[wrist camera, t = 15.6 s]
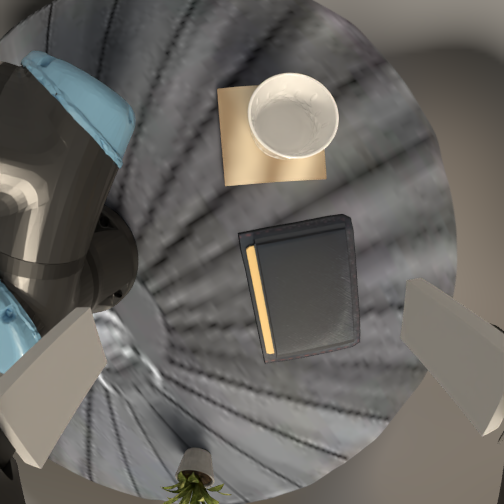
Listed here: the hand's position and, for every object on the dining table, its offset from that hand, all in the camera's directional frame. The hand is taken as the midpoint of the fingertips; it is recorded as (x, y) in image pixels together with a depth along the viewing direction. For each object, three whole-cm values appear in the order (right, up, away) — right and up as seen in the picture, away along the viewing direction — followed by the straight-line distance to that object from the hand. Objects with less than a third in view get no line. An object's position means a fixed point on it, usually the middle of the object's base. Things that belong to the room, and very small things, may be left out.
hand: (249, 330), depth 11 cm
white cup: (+3, +17, +22) cm, 28 cm away
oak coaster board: (+2, +17, +23) cm, 29 cm away
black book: (+7, -2, +29) cm, 30 cm away
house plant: (-9, -36, +36) cm, 52 cm away
